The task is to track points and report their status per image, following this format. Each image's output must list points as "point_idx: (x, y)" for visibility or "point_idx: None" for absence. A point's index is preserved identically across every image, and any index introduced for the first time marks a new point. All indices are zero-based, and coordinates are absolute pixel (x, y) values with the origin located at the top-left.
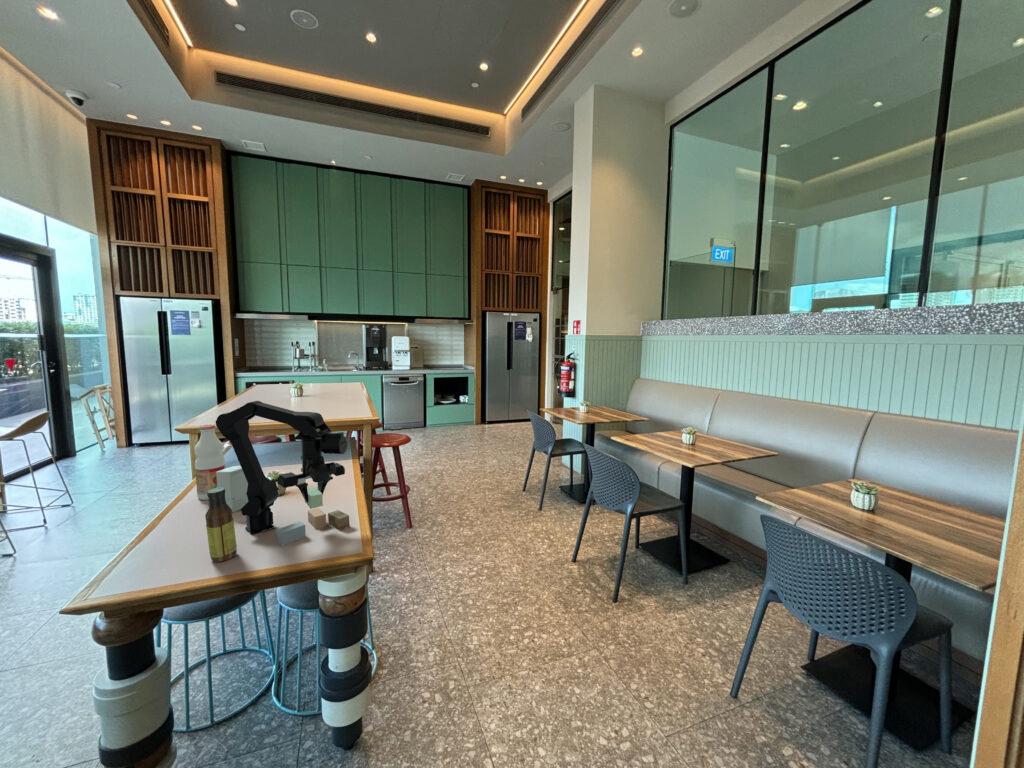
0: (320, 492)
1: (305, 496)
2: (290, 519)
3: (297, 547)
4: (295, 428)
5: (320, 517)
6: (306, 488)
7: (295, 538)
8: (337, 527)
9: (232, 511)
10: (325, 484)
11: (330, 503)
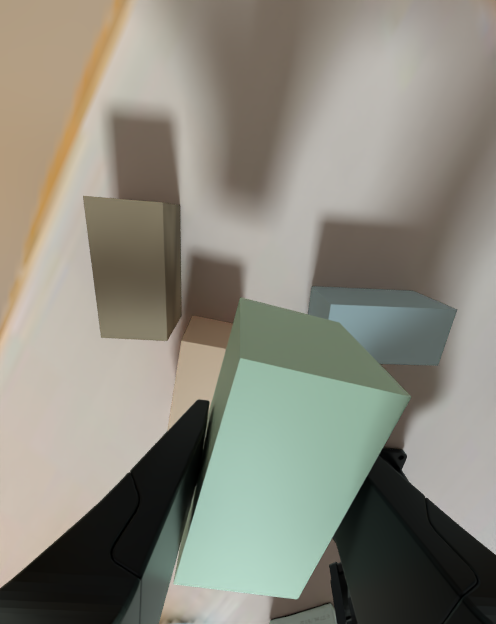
0: (229, 420)
1: (386, 463)
2: None
3: (401, 211)
4: None
5: (213, 340)
6: (474, 597)
7: (361, 290)
8: (178, 225)
9: (332, 609)
10: (70, 557)
11: (75, 484)
